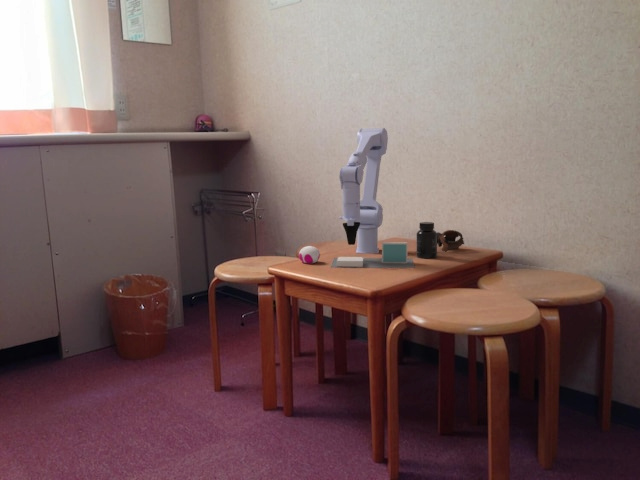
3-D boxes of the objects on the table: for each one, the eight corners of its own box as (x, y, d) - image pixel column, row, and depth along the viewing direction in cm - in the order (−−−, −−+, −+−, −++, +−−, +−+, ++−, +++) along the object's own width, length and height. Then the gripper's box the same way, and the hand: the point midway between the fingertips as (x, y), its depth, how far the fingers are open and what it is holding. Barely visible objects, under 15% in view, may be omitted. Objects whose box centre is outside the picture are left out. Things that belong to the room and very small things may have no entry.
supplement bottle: (431, 255, 194) (432, 221, 192) (440, 259, 188) (441, 223, 186) (413, 256, 193) (413, 221, 191) (421, 260, 186) (421, 224, 184)
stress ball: (297, 272, 185) (288, 258, 182) (311, 256, 190) (302, 241, 186) (314, 275, 180) (305, 260, 177) (327, 258, 184) (319, 243, 181)
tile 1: (338, 256, 182) (336, 260, 176) (363, 256, 181) (362, 260, 175) (338, 262, 182) (336, 266, 176) (363, 262, 182) (362, 267, 175)
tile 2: (381, 261, 183) (382, 242, 182) (406, 262, 182) (407, 242, 181) (382, 263, 181) (382, 243, 180) (407, 263, 180) (407, 243, 179)
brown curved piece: (467, 250, 207) (469, 232, 202) (455, 265, 201) (457, 247, 196) (437, 239, 213) (438, 222, 208) (425, 253, 207) (426, 236, 202)
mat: (334, 259, 191) (334, 257, 190) (412, 259, 188) (412, 258, 188) (330, 268, 176) (330, 267, 176) (414, 269, 173) (415, 267, 173)
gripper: (340, 201, 192) (340, 240, 194) (337, 205, 177) (338, 248, 180) (361, 201, 191) (361, 240, 193) (360, 205, 177) (360, 248, 179)
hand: (351, 244), depth 186 cm, fingers closed
